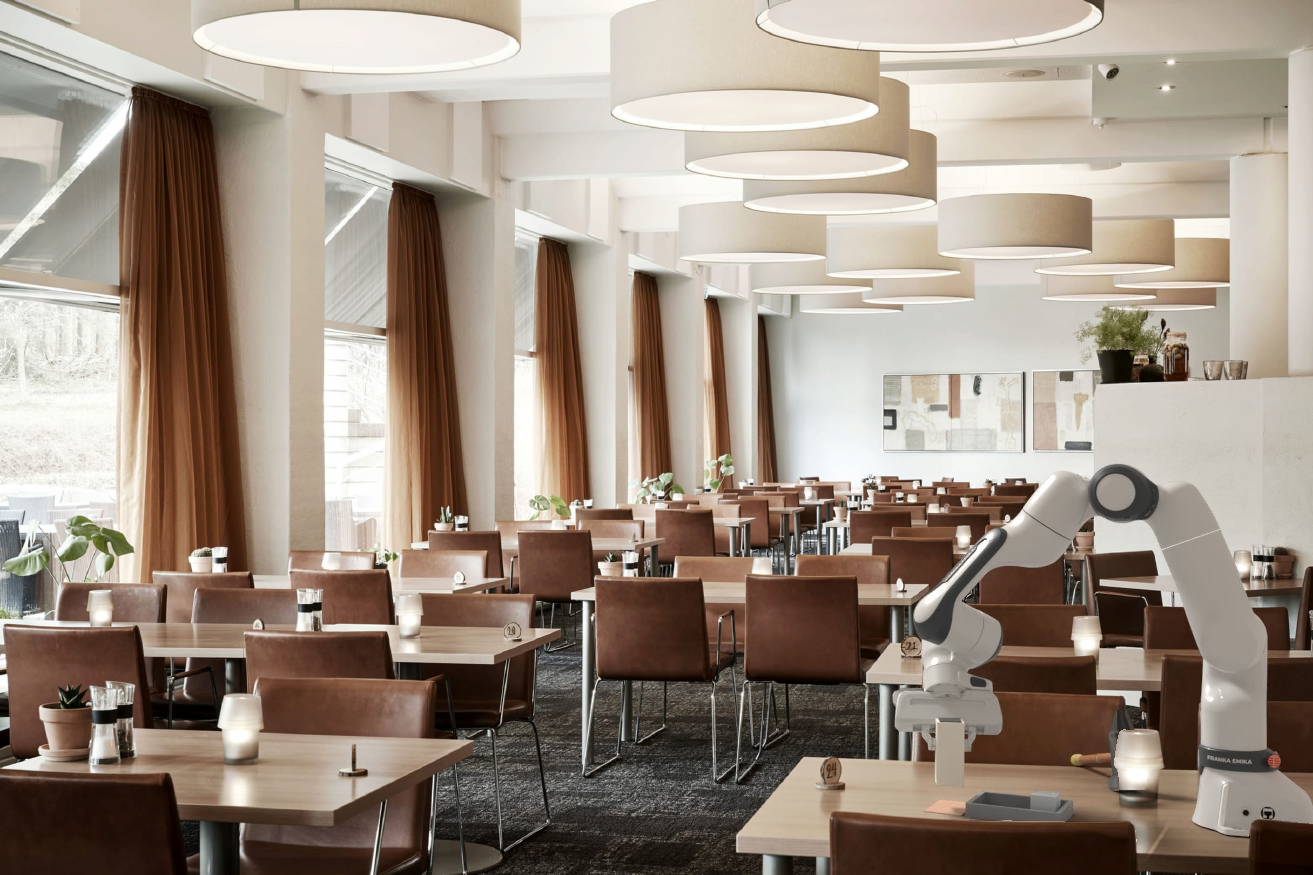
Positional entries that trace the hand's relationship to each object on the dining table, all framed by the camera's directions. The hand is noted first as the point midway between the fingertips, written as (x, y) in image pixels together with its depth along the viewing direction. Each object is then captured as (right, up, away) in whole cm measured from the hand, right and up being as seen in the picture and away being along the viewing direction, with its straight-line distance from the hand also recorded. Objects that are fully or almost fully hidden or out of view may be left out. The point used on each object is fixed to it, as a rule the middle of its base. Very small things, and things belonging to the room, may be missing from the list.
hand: (949, 749), depth 264 cm
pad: (0, -12, 0) cm, 12 cm away
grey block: (+16, -11, -8) cm, 21 cm away
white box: (0, -7, 0) cm, 7 cm away
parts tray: (+12, -11, -6) cm, 17 cm away
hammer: (+38, -13, +30) cm, 51 cm away
